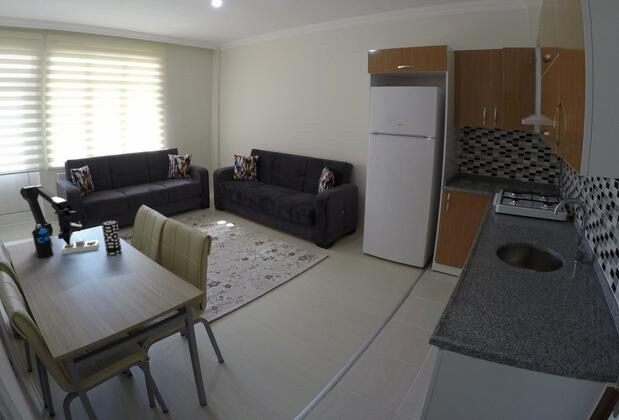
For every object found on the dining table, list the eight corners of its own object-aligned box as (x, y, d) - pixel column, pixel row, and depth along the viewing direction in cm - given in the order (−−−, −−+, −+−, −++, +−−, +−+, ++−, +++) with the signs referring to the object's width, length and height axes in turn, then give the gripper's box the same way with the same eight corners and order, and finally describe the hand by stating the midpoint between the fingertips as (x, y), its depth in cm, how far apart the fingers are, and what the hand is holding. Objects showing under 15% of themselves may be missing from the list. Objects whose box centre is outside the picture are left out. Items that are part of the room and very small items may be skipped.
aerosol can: (33, 257, 215) (26, 225, 210) (47, 252, 223) (41, 221, 217) (43, 259, 213) (36, 227, 207) (56, 254, 220) (50, 223, 214)
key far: (87, 247, 228) (87, 242, 227) (88, 245, 231) (87, 240, 230) (95, 246, 229) (94, 241, 228) (95, 244, 233) (94, 239, 232)
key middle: (76, 246, 225) (75, 242, 224) (77, 244, 228) (76, 239, 227) (83, 245, 226) (83, 241, 225) (84, 243, 230) (83, 239, 229)
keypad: (62, 254, 220) (61, 249, 219) (64, 248, 228) (63, 244, 227) (97, 249, 228) (97, 244, 227) (98, 244, 236) (98, 239, 235)
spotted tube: (111, 257, 217) (106, 226, 211) (103, 254, 221) (98, 223, 215) (124, 252, 224) (120, 222, 218) (116, 249, 228) (112, 219, 222)
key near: (65, 250, 223) (64, 246, 222) (66, 248, 226) (65, 243, 225) (73, 249, 224) (72, 245, 223) (73, 247, 228) (73, 242, 227)
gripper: (77, 223, 215) (82, 247, 220) (81, 214, 231) (85, 237, 236) (55, 226, 210) (60, 250, 215) (60, 217, 226) (65, 240, 231)
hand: (68, 244), depth 224 cm, fingers closed, pressing on key near
